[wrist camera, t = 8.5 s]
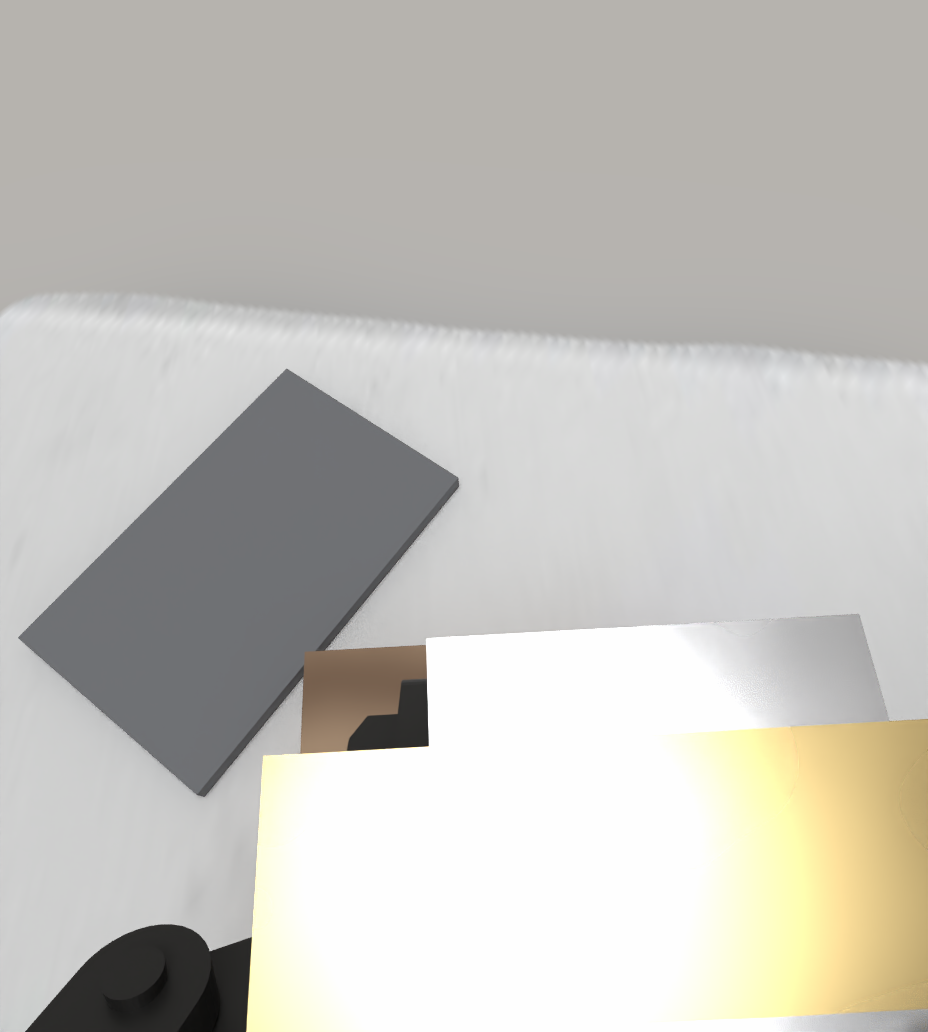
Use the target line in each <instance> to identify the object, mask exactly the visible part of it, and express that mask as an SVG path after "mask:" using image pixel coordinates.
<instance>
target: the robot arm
mask: <svg viewBox="0 0 928 1032" xmlns="http://www.w3.org/2000/svg"><path fill="white" fill-rule="evenodd" d="M417 747H429V718H428V684H427V679H410V680H402V682H401V689H400V697H399V706H398V714H388V715H371V716H367V717H366V718H365V720H364V721H363V722H362V723H361V724H360V726H359V727H358V728H357V729H356V730H355V732H354V733H353V734H352V735H351V737H350V738H349V741H348V746H347V751H364V750H382V749H399V748H417ZM251 949H252V937H251V938H248V939H245V940H242V941H239V942H236V943H233V944H230V945H228V946H225V947H222V948H219V949H216V950H213V951H210V952H209V948H208V946H207V944H206V942H205V941H204V940H203V939H202V937H201V936H200V935H199V934H197V933H196V932H194V931H193V930H191V929H189V928H186V927H183V926H178V925H155V926H149V927H145V928H141V929H138V930H135V931H133V932H130V933H128V934H125V935H123V936H121V937H119V938H118V939H116V940H114V941H112V942H111V943H109V944H108V945H106V946H105V947H103V948H102V949H100V950H99V951H98V952H97V953H96V954H94V955H93V956H92V957H91V958H90V959H89V960H88V961H87V962H86V963H85V964H84V965H83V966H82V967H81V968H80V969H79V970H78V971H77V973H76V974H75V975H74V976H73V977H72V978H71V980H70V981H69V982H68V983H67V984H66V985H65V986H64V988H63V989H62V990H61V991H60V992H59V993H58V995H57V996H56V997H55V998H54V999H53V1000H52V1001H51V1003H50V1004H49V1005H48V1006H47V1007H46V1008H45V1009H44V1011H43V1012H42V1013H41V1014H40V1015H39V1016H38V1018H37V1019H36V1020H35V1021H34V1022H33V1023H32V1024H31V1026H30V1027H29V1028H28V1029H27V1030H26V1031H25V1032H246V1031H247V1014H248V998H249V982H250V966H251Z"/></svg>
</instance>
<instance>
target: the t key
mask: <svg viewBox="0 0 928 1032" xmlns="http://www.w3.org/2000/svg"><path fill="white" fill-rule="evenodd" d="M426 649H427V684H428V718H429V747H417V748H399V749H382V750H364V751H346V752H328V753H310V754H292V755H274V756H263V770H262V786H261V802H260V819H259V835H258V851H257V868H256V884H255V900H254V917H253V933H252V949H251V966H250V982H249V998H248V1014H247V1031H246V1032H928V719H920V720H902V721H889V717H888V714H887V710H886V707H885V703H884V700H883V696H882V693H881V689H880V686H879V682H878V679H877V675H876V672H875V668H874V665H873V661H872V658H871V654H870V651H869V647H868V644H867V640H866V637H865V633H864V630H863V626H862V623H861V619H860V616H859V614H851V615H833V616H816V617H798V618H780V619H762V620H745V621H727V622H709V623H691V624H674V625H656V626H638V627H620V628H603V629H585V630H567V631H549V632H532V633H514V634H496V635H478V636H461V637H443V638H426Z"/></svg>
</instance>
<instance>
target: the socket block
mask: <svg viewBox="0 0 928 1032" xmlns="http://www.w3.org/2000/svg"><path fill="white" fill-rule="evenodd" d="M410 679H427V649H426V645H418V646H400V647H382V648H363V649H345V650H327V651H308V652H305V656H304V680H303V704H302V728H301V752H300V754H310V753H328V752H346V751H347V746H348V741H349V738H350V737H351V735H352V734H353V733H354V732H355V730H356V729H357V728H358V727H359V726H360V724H361V723H362V722H363V721H364V720H365V718H366V717H367V716H371V715H388V714H398V706H399V697H400V689H401V682H402V680H410Z"/></svg>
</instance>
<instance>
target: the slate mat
mask: <svg viewBox="0 0 928 1032" xmlns="http://www.w3.org/2000/svg"><path fill="white" fill-rule="evenodd" d="M458 487H459V481H458V477H456V476H455V475H453V474H452V473H450V472H448V471H447V470H445V469H444V468H442V467H441V466H439V465H437V464H436V463H434V462H433V461H431V460H430V459H428V458H426V457H425V456H423V455H422V454H420V453H419V452H417V451H415V450H414V449H412V448H411V447H409V446H408V445H406V444H404V443H403V442H401V441H400V440H398V439H397V438H395V437H393V436H392V435H390V434H389V433H387V432H386V431H384V430H382V429H381V428H379V427H378V426H376V425H375V424H373V423H371V422H370V421H368V420H367V419H365V418H364V417H362V416H360V415H359V414H357V413H356V412H354V411H353V410H351V409H349V408H348V407H346V406H345V405H343V404H342V403H340V402H338V401H337V400H335V399H334V398H332V397H331V396H329V395H327V394H326V393H324V392H323V391H321V390H320V389H318V388H316V387H315V386H313V385H312V384H310V383H308V382H307V381H305V380H304V379H302V378H301V377H299V376H297V375H296V374H294V373H293V372H291V371H290V370H288V369H286V370H285V371H284V372H283V373H282V374H281V375H280V376H279V377H278V378H277V379H276V380H275V381H274V382H273V383H272V384H271V385H270V386H269V387H268V388H267V389H266V390H265V391H264V392H263V393H262V394H261V395H260V396H259V397H258V398H257V399H256V400H255V401H254V402H253V403H252V404H251V405H250V406H249V407H248V408H247V409H246V410H245V411H244V412H243V413H242V414H241V415H240V416H239V417H238V418H237V419H236V420H235V421H234V422H233V423H232V424H231V425H230V426H229V427H228V428H227V429H226V430H225V431H224V432H223V433H222V434H221V435H220V436H219V437H218V438H217V439H216V440H215V441H214V442H213V443H212V444H211V445H210V446H209V447H208V448H207V449H206V450H205V451H204V452H203V453H202V454H201V455H200V456H199V457H198V458H197V459H196V460H195V461H194V462H193V463H192V464H191V465H190V466H189V467H188V468H187V469H186V470H185V471H184V472H183V473H182V474H181V475H180V476H179V477H178V478H177V479H176V480H175V481H174V482H173V483H172V484H171V485H170V486H169V487H168V488H167V489H166V490H165V491H164V492H163V493H162V494H161V495H160V496H159V497H158V498H157V499H156V500H155V501H154V502H153V503H152V504H151V505H150V506H149V507H148V508H147V509H146V510H145V511H144V512H143V513H142V514H141V515H140V516H139V517H138V518H137V519H136V520H135V521H134V522H133V523H132V524H131V525H130V526H129V527H128V528H127V529H126V530H125V531H124V532H123V533H122V534H121V535H120V536H119V537H118V538H117V539H116V540H115V541H114V542H113V543H112V544H111V545H110V546H109V547H108V548H107V549H106V550H105V551H104V552H103V553H102V554H101V555H100V556H99V557H98V558H97V559H96V560H95V561H94V562H93V563H92V564H91V565H90V566H89V567H88V568H87V569H86V570H85V571H84V572H83V573H82V574H81V575H80V576H79V577H78V578H77V579H76V580H75V581H74V582H73V583H72V584H71V585H70V586H69V587H68V588H67V589H66V590H65V591H64V592H63V593H62V594H61V595H60V596H59V597H58V598H57V599H56V600H55V601H54V602H53V603H52V604H51V605H50V606H49V607H48V608H47V609H46V610H45V611H44V612H43V613H42V614H41V615H40V616H39V617H38V618H37V619H36V620H35V621H34V622H33V623H32V624H31V625H30V626H29V627H28V628H27V629H26V630H25V631H24V632H23V633H22V634H21V635H20V636H19V637H18V638H19V639H20V640H21V641H22V642H23V643H25V644H26V645H27V646H28V647H29V648H30V649H31V650H33V651H34V652H35V653H36V654H37V655H38V656H39V657H41V658H42V659H43V660H44V661H45V662H46V663H47V664H49V665H50V666H51V667H52V668H53V669H54V670H55V671H57V672H58V673H59V674H60V675H61V676H62V677H63V678H65V679H66V680H67V681H68V682H69V683H70V684H71V685H72V686H74V687H75V688H76V689H77V690H78V691H79V692H80V693H82V694H83V695H84V696H85V697H86V698H87V699H88V700H90V701H91V702H92V703H93V704H94V705H95V706H96V707H98V708H99V709H100V710H101V711H102V712H103V713H104V714H106V715H107V716H108V717H109V718H110V719H111V720H112V721H114V722H115V723H116V724H117V725H118V726H119V727H120V728H121V729H123V730H124V731H125V732H126V733H127V734H128V735H129V736H131V737H132V738H133V739H134V740H135V741H136V742H137V743H139V744H140V745H141V746H142V747H143V748H144V749H145V750H147V751H148V752H149V753H150V754H151V755H152V756H153V757H155V758H156V759H157V760H158V761H159V762H160V763H161V764H163V765H164V766H165V767H166V768H167V769H168V770H169V771H170V772H172V773H173V774H174V775H175V776H176V777H177V778H178V779H180V780H181V781H182V782H183V783H184V784H185V785H186V786H188V787H189V788H190V789H191V790H192V791H193V792H194V793H196V794H197V795H200V796H205V795H206V794H207V793H208V792H209V790H210V789H211V788H212V787H213V785H214V784H215V783H216V782H217V781H218V779H219V778H220V777H221V776H222V774H223V773H224V772H225V771H226V770H227V768H228V767H229V766H230V765H231V763H232V762H233V761H234V760H235V759H236V757H237V756H238V755H239V754H240V753H241V751H242V750H243V749H244V748H245V746H246V745H247V744H248V743H249V742H250V740H251V739H252V738H253V737H254V735H255V734H256V733H257V732H258V731H259V729H260V728H261V727H262V726H263V724H264V723H265V722H266V721H267V720H268V718H269V717H270V716H271V715H272V713H273V712H274V711H275V710H276V709H277V707H278V706H279V705H280V704H281V703H282V701H283V700H284V699H285V698H286V696H287V695H288V694H289V693H290V692H291V690H292V689H293V688H294V687H295V685H296V684H297V683H298V682H299V681H300V679H301V678H302V677H303V676H304V656H305V652H308V651H324V650H325V649H326V648H327V646H328V645H329V644H330V643H331V642H332V640H333V639H334V638H335V637H336V635H337V634H338V633H339V632H340V631H341V629H342V628H343V627H344V626H345V624H346V623H347V622H348V621H349V620H350V618H351V617H352V616H353V615H354V613H355V612H356V611H357V610H358V609H359V607H360V606H361V605H362V604H363V603H364V601H365V600H366V599H367V598H368V596H369V595H370V594H371V593H372V592H373V590H374V589H375V588H376V587H377V585H378V584H379V583H380V582H381V581H382V579H383V578H384V577H385V576H386V574H387V573H388V572H389V571H390V570H391V568H392V567H393V566H394V565H395V563H396V562H397V561H398V560H399V559H400V557H401V556H402V555H403V554H404V553H405V551H406V550H407V549H408V548H409V546H410V545H411V544H412V543H413V542H414V540H415V539H416V538H417V537H418V535H419V534H420V533H421V532H422V531H423V529H424V528H425V527H426V526H427V524H428V523H429V522H430V521H431V520H432V518H433V517H434V516H435V515H436V513H437V512H438V511H439V510H440V509H441V507H442V506H443V505H444V504H445V503H446V501H447V500H448V499H449V498H450V496H451V495H452V494H453V493H454V492H455V490H456V489H457V488H458Z"/></svg>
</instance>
